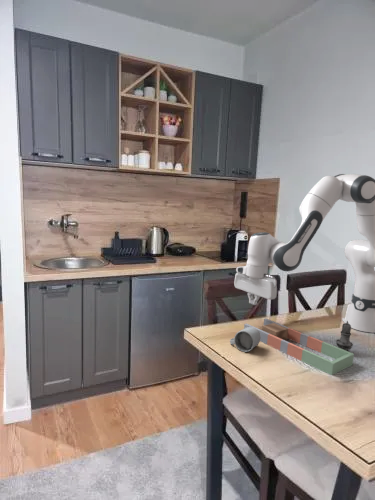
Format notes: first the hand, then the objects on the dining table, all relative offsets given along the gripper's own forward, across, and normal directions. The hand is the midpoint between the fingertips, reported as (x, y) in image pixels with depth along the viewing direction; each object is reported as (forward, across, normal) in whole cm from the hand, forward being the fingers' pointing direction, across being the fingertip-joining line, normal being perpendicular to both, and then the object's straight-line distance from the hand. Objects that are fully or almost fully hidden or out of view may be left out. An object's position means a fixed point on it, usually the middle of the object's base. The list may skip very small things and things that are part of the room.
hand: (252, 303), depth 143 cm
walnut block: (+11, -12, -1) cm, 16 cm away
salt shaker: (+11, -33, -14) cm, 38 cm away
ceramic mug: (+11, -11, +16) cm, 22 cm away
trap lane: (+11, -21, -1) cm, 24 cm away
